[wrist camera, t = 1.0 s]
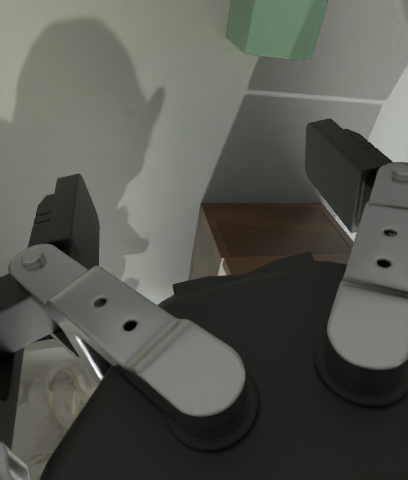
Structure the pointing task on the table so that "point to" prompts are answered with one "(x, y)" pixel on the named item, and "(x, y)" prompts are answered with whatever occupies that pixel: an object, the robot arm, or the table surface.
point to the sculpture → (47, 401)
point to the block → (276, 27)
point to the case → (262, 233)
